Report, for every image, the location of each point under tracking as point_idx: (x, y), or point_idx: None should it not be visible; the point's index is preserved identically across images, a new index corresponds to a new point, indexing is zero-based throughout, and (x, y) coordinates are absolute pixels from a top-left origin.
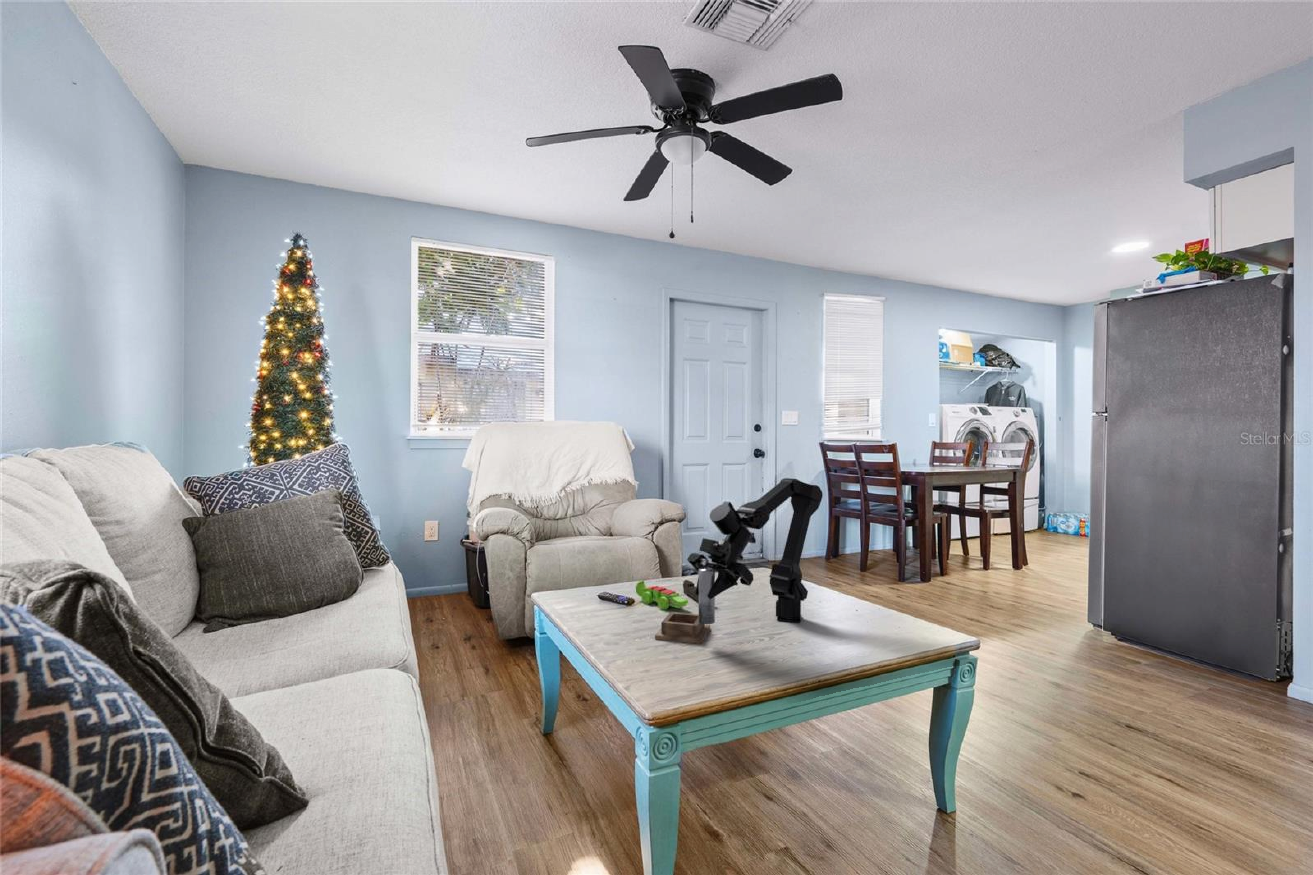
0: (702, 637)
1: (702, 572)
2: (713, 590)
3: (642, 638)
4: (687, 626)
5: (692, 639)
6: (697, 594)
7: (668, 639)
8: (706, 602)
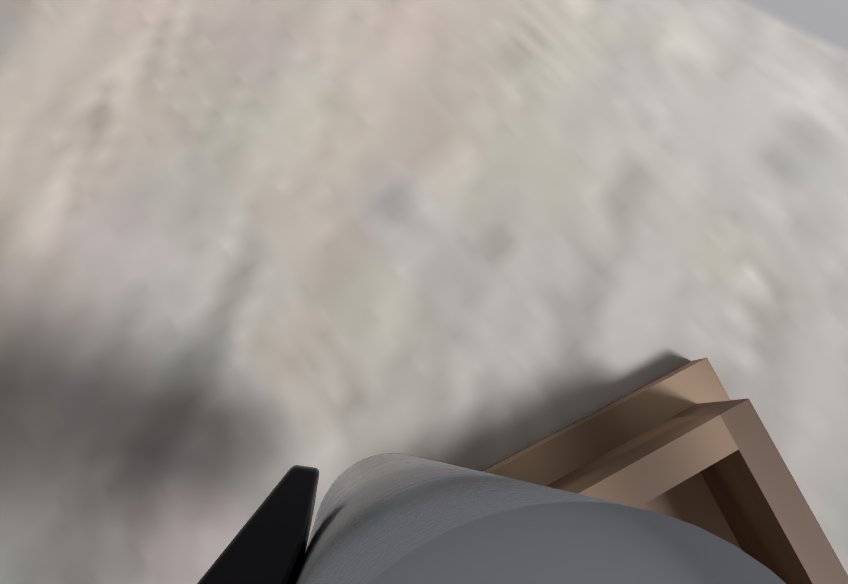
0: None
1: (528, 500)
2: (224, 559)
3: (750, 320)
4: None
5: None
6: None
7: (621, 398)
8: (353, 482)
